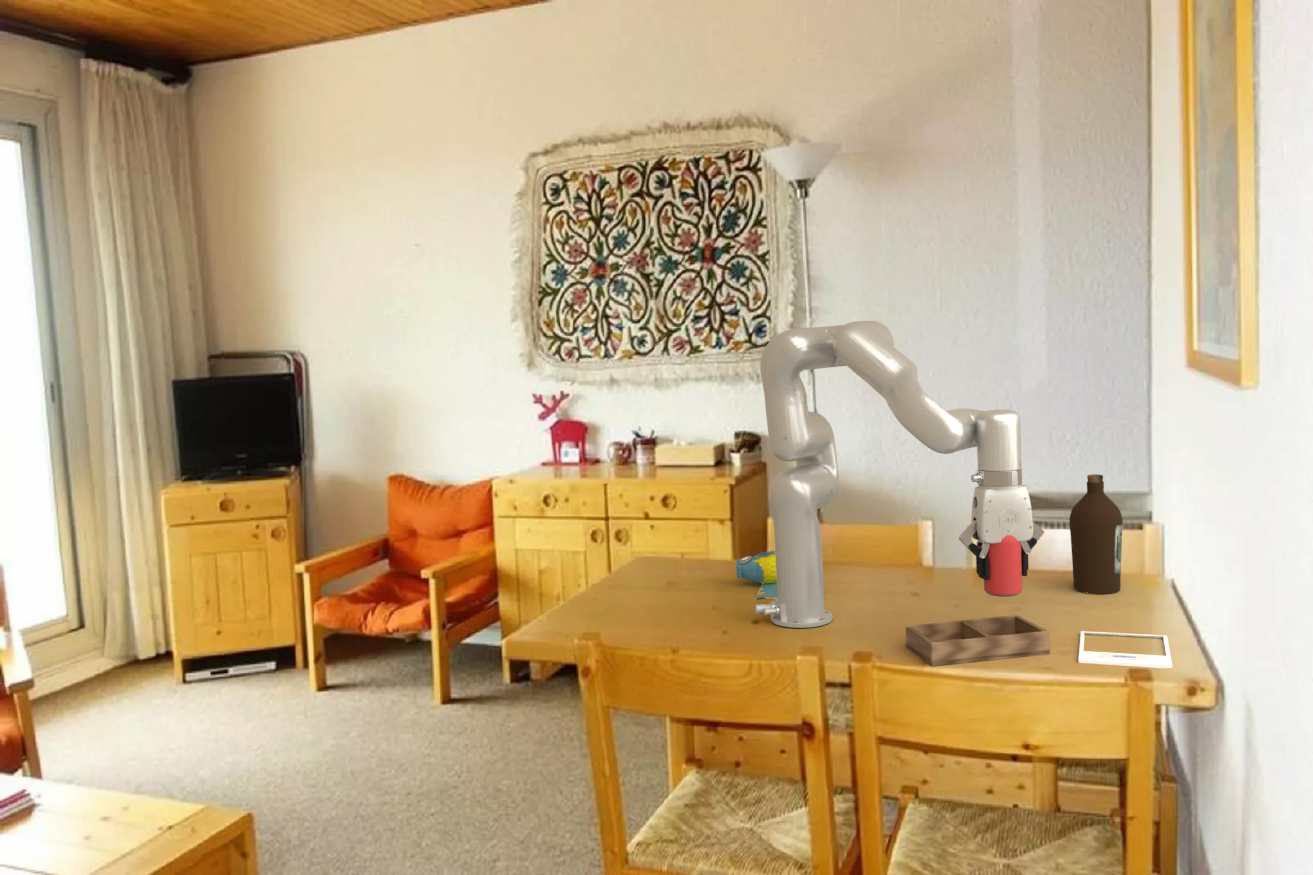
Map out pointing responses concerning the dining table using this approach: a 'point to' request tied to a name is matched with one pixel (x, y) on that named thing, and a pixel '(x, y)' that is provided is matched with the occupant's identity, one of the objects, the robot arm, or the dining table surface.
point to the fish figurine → (760, 572)
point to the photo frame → (1123, 658)
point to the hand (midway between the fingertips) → (1002, 575)
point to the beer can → (1004, 568)
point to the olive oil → (1096, 541)
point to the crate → (977, 640)
